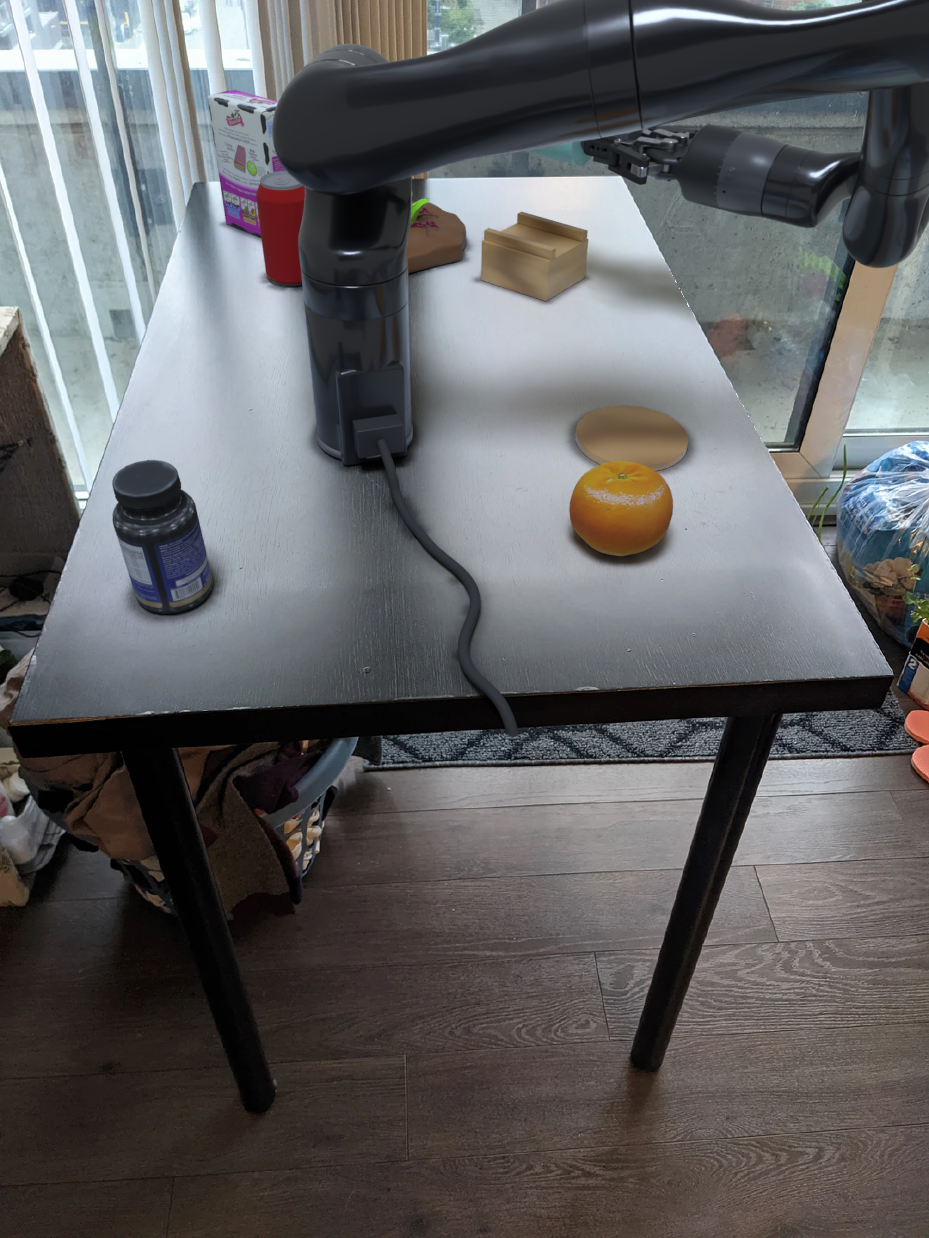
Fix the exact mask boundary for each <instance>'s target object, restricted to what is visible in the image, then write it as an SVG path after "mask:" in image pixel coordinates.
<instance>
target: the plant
mask: <svg viewBox="0 0 929 1238" xmlns="http://www.w3.org/2000/svg"><path fill="white" fill-rule="evenodd" d="M466 246H467V227H466V225H465V223H464V222H463V221H462V219H461V218H460V217H459V216H458V215H457V214H456V213H453V212H450V211H446V210H444V209H442V208H441V207H439V206H438V205H436V204H434V203H432V202H430V198H429V197H427V198H421V199H419V200H417V201H415V200H412V214H411V224H410V231H409V238H408V274H412V273H415V272H419V271H423V270H427V269H431V268H433V267H438V266H442V265H446V264H451V263H455V262H459V261H462V259H463V255H464V254H463V253H464V252H463V251H464V249H465V248H466Z"/></svg>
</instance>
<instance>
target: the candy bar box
mask: <svg viewBox="0 0 929 1238" xmlns="http://www.w3.org/2000/svg"><path fill="white" fill-rule="evenodd" d="M206 98H207V104H208V111H209V116H210V125H211V130H212V137H213V143H214V145H213V146H214V151H215V158H216V164H217V165H216V166H217V171H218V177H219V179H218V180H219V185H220V193H221V199H222V206H223V212H224V219H225V223H226V224H227V225H229V226H231V227H234V228H236V229H238V230H241V231H244V232H247V233H248V234H251V235H254V236H257V237H260V238H261V232H260V224H259V216H258V207H257V199H256V192H257V190H258V187H259V184H260V178H261V177H262V176H263V175H265V174H268V173H272V172H279V171H286V170H285V168H284V167H283V166H282V164H281V163H280V161H279V159H278V157H277V155H276V152H275V149H274V145H273V139H272V123H273V117H274V113H275V109H276V106H277V103H278V101H279V100H278V101H277V100H274V99H271V98H266V97H263V96H260V95H257V94H256V95H255V94H251V93H249V92H245V91H241V90H238V89H231V90H225V91H222V92H218V93H214V94H209V95H207V96H206Z"/></svg>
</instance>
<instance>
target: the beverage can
mask: <svg viewBox="0 0 929 1238" xmlns="http://www.w3.org/2000/svg"><path fill="white" fill-rule="evenodd" d="M256 199H257V207H258V216H259V224H260V232H261V237H260V239H261V245H262V253H263V260H264V261H263V262H264V268H265V274H266V276H267V277H268V279H270V280H272V281H274V282H276V283H277V284H280V285H283V286H288V287H289V286H290V287H292V286H301V285H302V276H301V266H300V257H299V247H298V237H299V230H300V226H301V221H302V216H303V209H304V200H305V186H303V185H301V184H300V183H298V182H297V181H296V180H295V179H294V178H293V177H292V176H291V175H289V174H288V172H287V171H279V172H272V173H268V174H265V175H263V176H262V177H261V178H260V184H259V187H258V190H257V192H256Z"/></svg>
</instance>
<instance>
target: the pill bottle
mask: <svg viewBox="0 0 929 1238" xmlns="http://www.w3.org/2000/svg"><path fill="white" fill-rule="evenodd" d="M111 481H112V483H111V485H112V490H113V493H114V497H115V500H116V505H115V506H114V508H113V511H112V520H111V521H112V524H113V529H114V532H115V535H116V537H117V541H118V544H119V547H120V551H121V554H122V557H123V560H124V564H125V568H126V570H127V574H128V576H129V580H130V584H131V586H132V590H133V593H134V596H135V598H136V601H137V602H138V604H140V606H142V608H144V609H146V610H148V611H150V612H152V613H156V614H157V613H158V614H175V613H180V612H183V611H187V610H190V609H192V608H195V607H196V606H198V605H199V604H201V603H203V602H204V601H205V599H207V598H208V596H209V595H210V593H211V592H212V588H213V585H214V581H213V580H214V579H213V575H212V571H211V567H210V562H209V558H208V552H207V549H206V545H205V541H204V536H203V532H202V528H201V522H200V519H199V515H198V510H197V504H196V502H195V500H194V499H193V498H192V496H191V495H190V494H188V493H187V492H186V491H185V490H184V489H182V482H181V478H180V475H179V471H178V469H177V468H176V467H175V466H174V465H173V464H172V463H170V462H167V461H164V460H158V459H146V460H140V461H135V462H133V463H130V464H127V465H125V466H124V467H123V468H120V469H119V470H118V471H117V472H116V473H115V474H114V476H113V478H112V480H111Z"/></svg>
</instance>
